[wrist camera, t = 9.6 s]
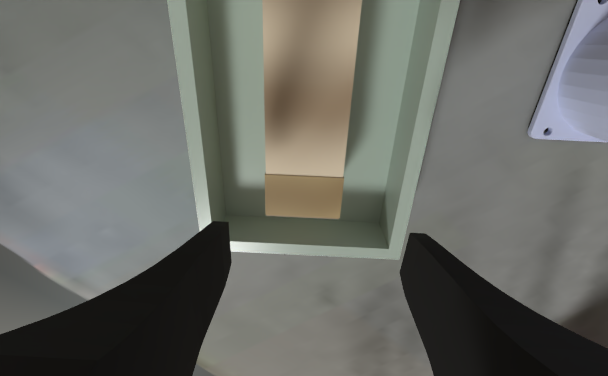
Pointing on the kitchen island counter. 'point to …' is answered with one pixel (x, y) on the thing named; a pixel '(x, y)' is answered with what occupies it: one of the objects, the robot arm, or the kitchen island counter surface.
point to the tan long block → (307, 103)
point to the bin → (361, 133)
